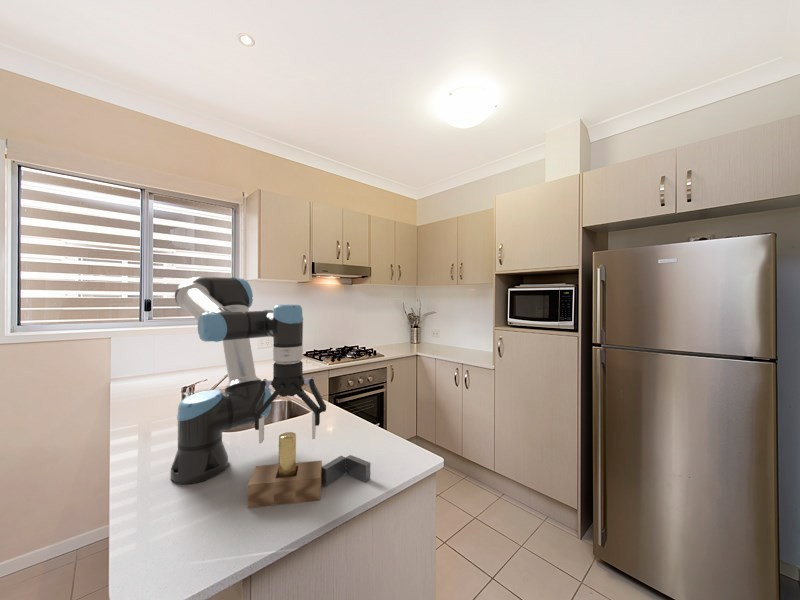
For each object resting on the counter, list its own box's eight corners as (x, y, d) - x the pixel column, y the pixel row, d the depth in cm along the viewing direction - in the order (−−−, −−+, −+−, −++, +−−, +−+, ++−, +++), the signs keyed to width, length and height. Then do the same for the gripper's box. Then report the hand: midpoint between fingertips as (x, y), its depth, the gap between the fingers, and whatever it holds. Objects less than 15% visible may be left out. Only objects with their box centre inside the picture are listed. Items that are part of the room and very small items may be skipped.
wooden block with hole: (247, 508, 82) (247, 484, 82) (256, 487, 91) (256, 466, 91) (320, 500, 85) (320, 477, 85) (321, 480, 94) (321, 460, 94)
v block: (320, 487, 91) (321, 469, 91) (321, 473, 98) (322, 457, 98) (370, 482, 94) (370, 465, 94) (368, 469, 101) (368, 453, 101)
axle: (277, 499, 85) (277, 439, 85) (280, 489, 90) (280, 432, 89) (294, 497, 86) (294, 438, 86) (296, 487, 91) (296, 431, 90)
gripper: (234, 366, 81) (234, 449, 81) (334, 362, 86) (334, 441, 86) (242, 360, 89) (242, 436, 89) (335, 357, 93) (334, 429, 94)
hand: (288, 439), depth 87 cm, fingers open, 13 cm apart
